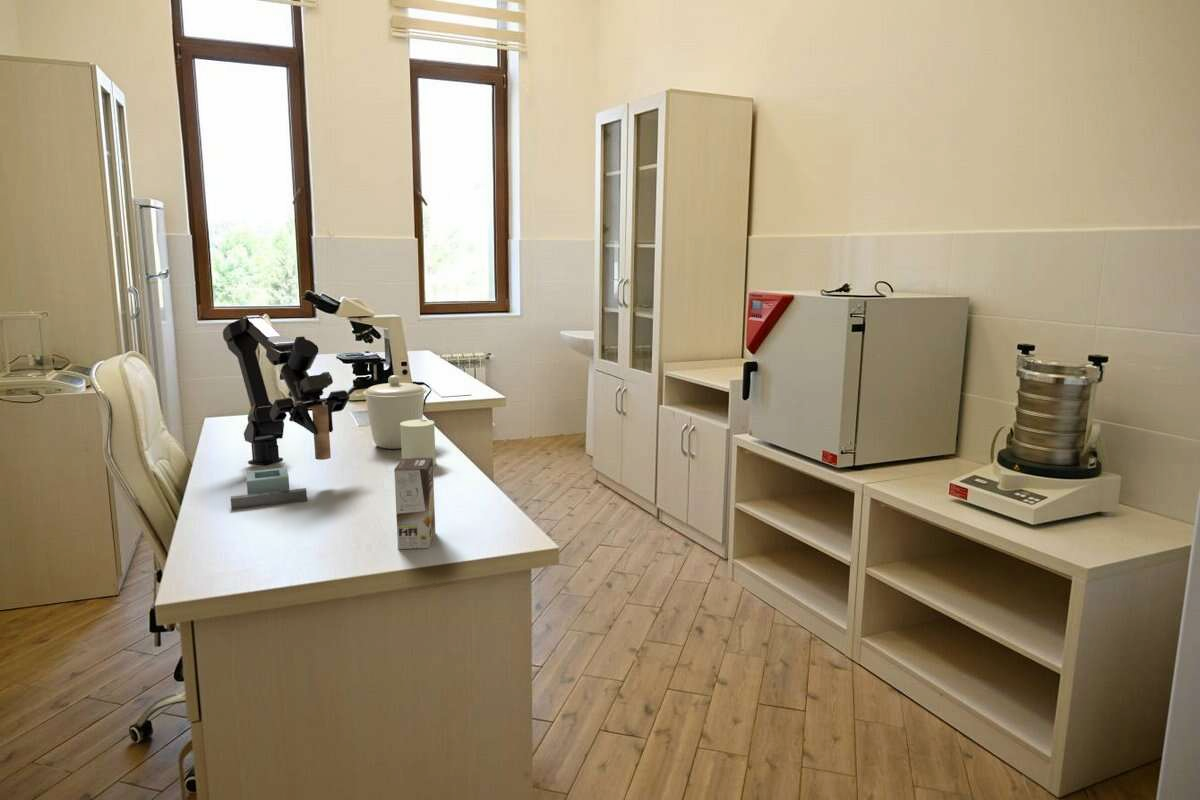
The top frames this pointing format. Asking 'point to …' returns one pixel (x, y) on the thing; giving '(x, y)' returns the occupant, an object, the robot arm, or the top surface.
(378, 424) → the canister
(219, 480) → the top surface
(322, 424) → the dowel
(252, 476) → the socket block
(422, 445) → the can
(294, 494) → the backstop bar
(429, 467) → the coffee box
